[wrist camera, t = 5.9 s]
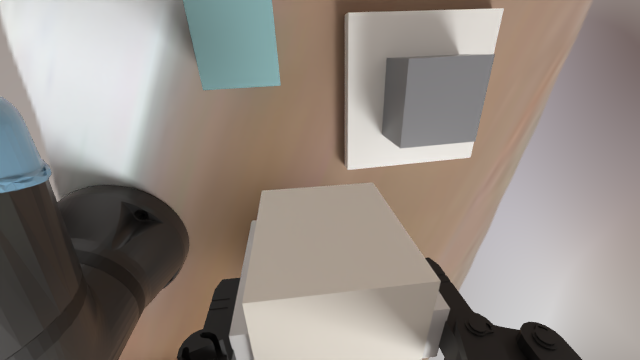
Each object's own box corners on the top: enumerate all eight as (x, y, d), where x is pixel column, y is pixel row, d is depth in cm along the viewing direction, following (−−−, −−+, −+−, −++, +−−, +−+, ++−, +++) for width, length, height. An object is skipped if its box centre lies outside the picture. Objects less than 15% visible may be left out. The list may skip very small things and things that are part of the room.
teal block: (219, 81, 27) (203, 90, 20) (206, 12, 24) (182, -3, 18) (279, 78, 27) (280, 85, 21) (272, 10, 25) (271, -5, 19)
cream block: (273, 275, 16) (265, 412, 10) (261, 190, 14) (242, 303, 8) (366, 265, 17) (414, 389, 11) (373, 182, 14) (440, 281, 8)
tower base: (344, 165, 33) (359, 188, 27) (344, 14, 26) (364, 3, 20) (462, 153, 35) (500, 173, 29) (492, 10, 28) (550, -2, 22)
